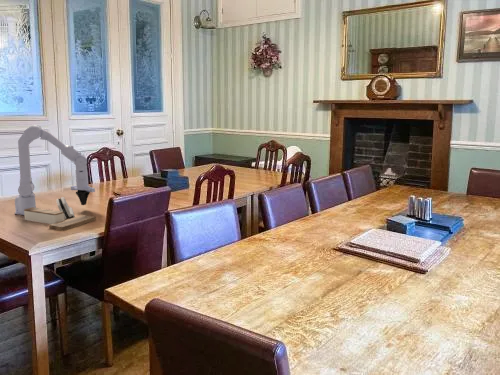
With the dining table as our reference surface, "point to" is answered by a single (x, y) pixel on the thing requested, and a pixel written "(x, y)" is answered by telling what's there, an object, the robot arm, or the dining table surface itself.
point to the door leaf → (72, 222)
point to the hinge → (64, 207)
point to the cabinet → (43, 215)
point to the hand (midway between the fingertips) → (83, 204)
